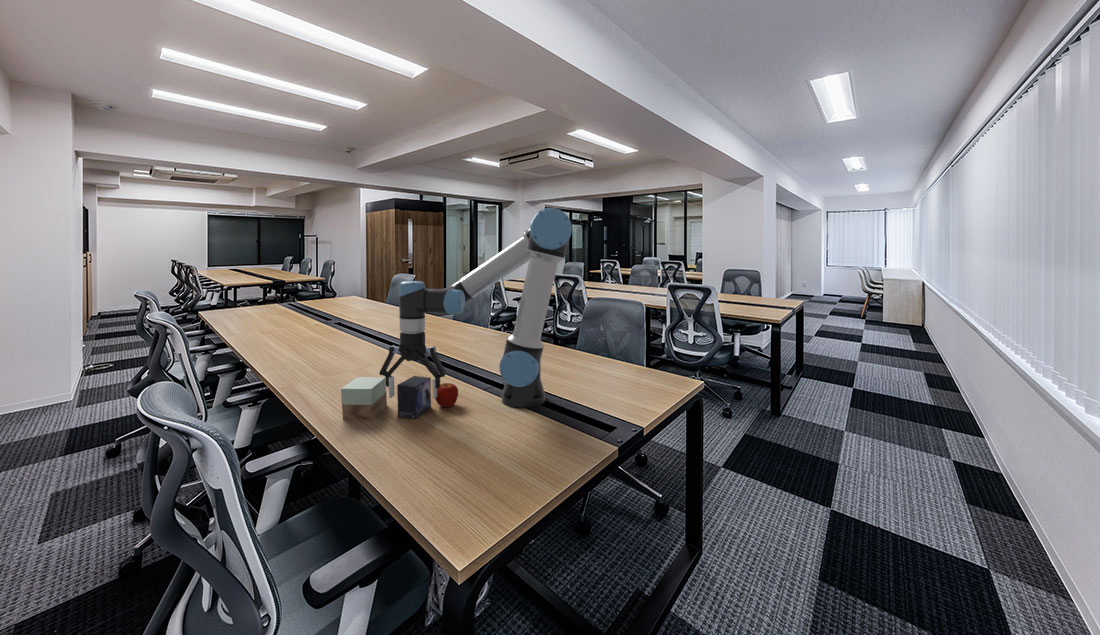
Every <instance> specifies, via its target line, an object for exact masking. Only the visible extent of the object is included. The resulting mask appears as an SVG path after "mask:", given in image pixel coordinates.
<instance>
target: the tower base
mask: <svg viewBox="0 0 1100 635" xmlns="http://www.w3.org/2000/svg"><path fill="white" fill-rule="evenodd" d="M387 399H388V396H387V392H386V393H385V394H383V395H382V396H381V397H380V398H379V399H378V400H377V401H376V402H375V403H374V404H372V405H342V404H341V408H342V420H369V421H370V420H371V421H373V420H374V419H375V418H376V417H377V416H378V415H379V414H380V413H381V412H382V411H383V410H384V409H386V407H387V406H388V402H387V401H388V400H387Z"/></svg>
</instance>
